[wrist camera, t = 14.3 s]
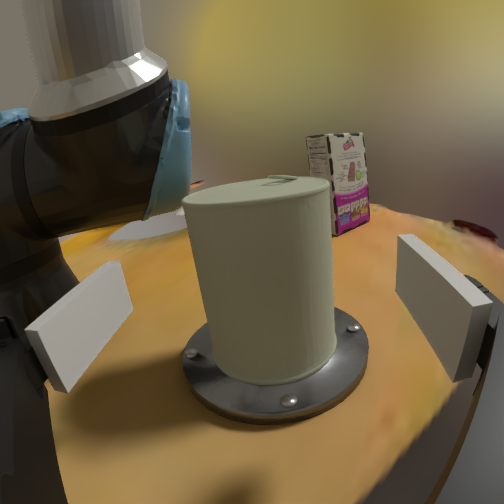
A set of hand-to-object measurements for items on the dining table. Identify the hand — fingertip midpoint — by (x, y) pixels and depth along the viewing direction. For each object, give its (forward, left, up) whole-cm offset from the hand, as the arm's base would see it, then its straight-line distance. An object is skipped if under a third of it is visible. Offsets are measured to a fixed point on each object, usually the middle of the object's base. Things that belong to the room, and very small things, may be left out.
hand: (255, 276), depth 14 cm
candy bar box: (+18, +39, -10) cm, 44 cm away
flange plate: (+1, +7, -10) cm, 12 cm away
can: (+1, +6, -9) cm, 11 cm away
